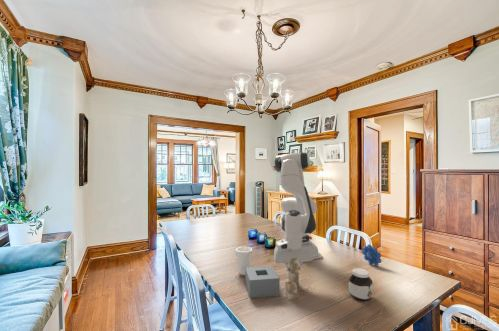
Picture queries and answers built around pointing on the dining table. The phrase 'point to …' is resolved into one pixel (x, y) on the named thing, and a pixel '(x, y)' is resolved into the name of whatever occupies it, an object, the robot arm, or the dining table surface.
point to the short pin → (291, 290)
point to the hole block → (262, 281)
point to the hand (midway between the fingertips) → (293, 270)
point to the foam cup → (243, 258)
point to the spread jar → (360, 285)
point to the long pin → (294, 271)
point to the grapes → (371, 255)
